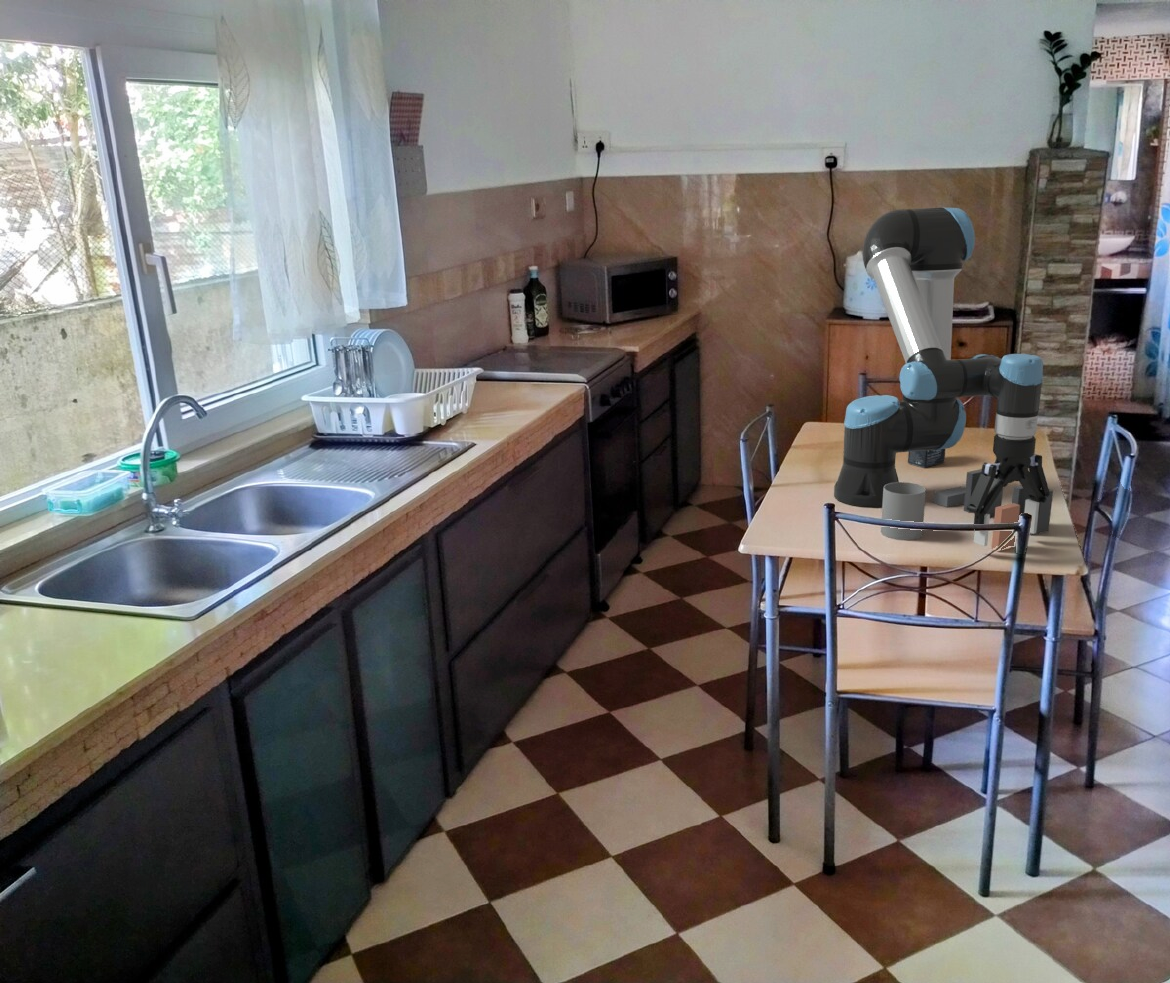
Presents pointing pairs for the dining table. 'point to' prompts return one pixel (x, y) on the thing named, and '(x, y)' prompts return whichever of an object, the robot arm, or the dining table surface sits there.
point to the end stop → (950, 496)
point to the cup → (903, 508)
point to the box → (926, 457)
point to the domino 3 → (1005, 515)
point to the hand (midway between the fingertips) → (1005, 537)
